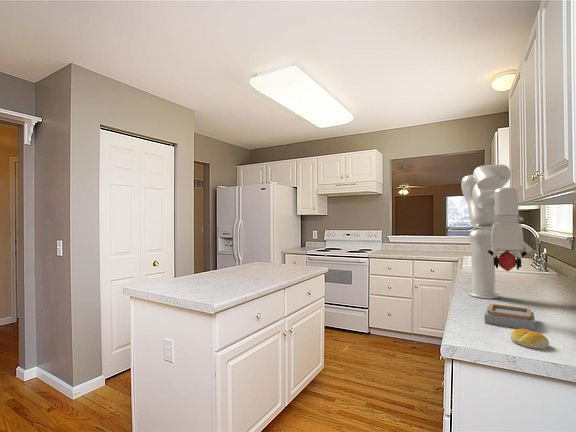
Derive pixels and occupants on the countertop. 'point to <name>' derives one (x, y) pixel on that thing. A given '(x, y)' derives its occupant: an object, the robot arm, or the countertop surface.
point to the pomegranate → (507, 261)
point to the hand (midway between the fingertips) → (507, 267)
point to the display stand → (510, 316)
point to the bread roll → (529, 339)
